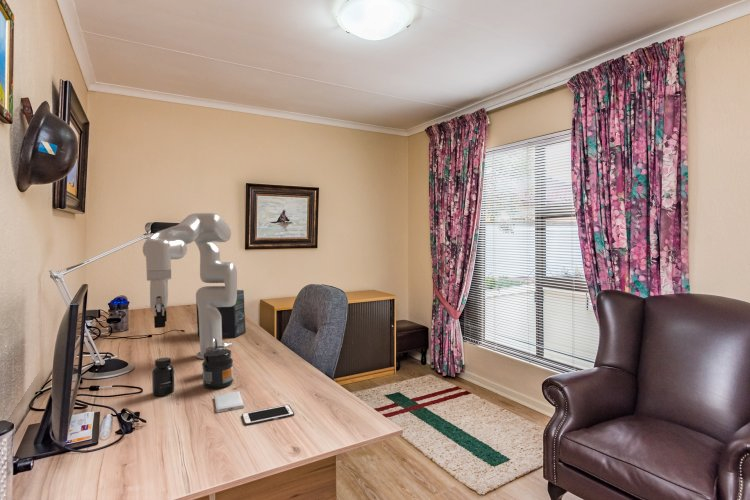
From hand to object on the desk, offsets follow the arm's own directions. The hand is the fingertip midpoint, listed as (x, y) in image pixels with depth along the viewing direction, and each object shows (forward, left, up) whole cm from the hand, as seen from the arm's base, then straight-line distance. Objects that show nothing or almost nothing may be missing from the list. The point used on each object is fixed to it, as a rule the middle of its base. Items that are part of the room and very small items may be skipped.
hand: (160, 324), depth 142 cm
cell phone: (-11, +44, -25) cm, 52 cm away
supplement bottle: (0, 0, -25) cm, 25 cm away
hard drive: (-9, +26, -25) cm, 37 cm away
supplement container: (-16, +8, -25) cm, 30 cm away
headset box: (-58, -59, -25) cm, 86 cm away
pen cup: (-22, -4, -24) cm, 33 cm away
